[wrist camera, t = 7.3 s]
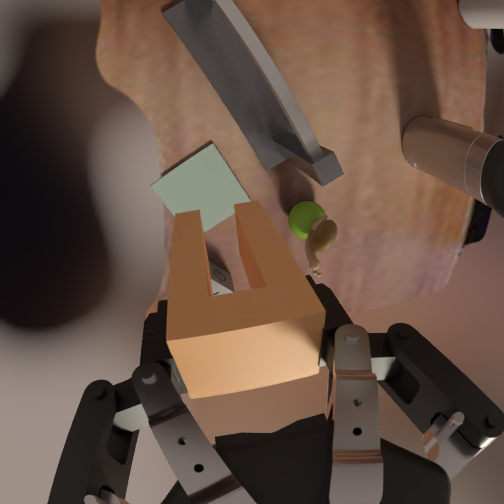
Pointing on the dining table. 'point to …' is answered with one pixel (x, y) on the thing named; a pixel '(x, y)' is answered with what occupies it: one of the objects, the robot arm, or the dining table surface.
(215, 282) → the dice cube
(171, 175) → the felt mat
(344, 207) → the dining table surface
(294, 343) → the c link
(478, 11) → the bottle
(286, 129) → the rail stand
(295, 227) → the snail figurine
